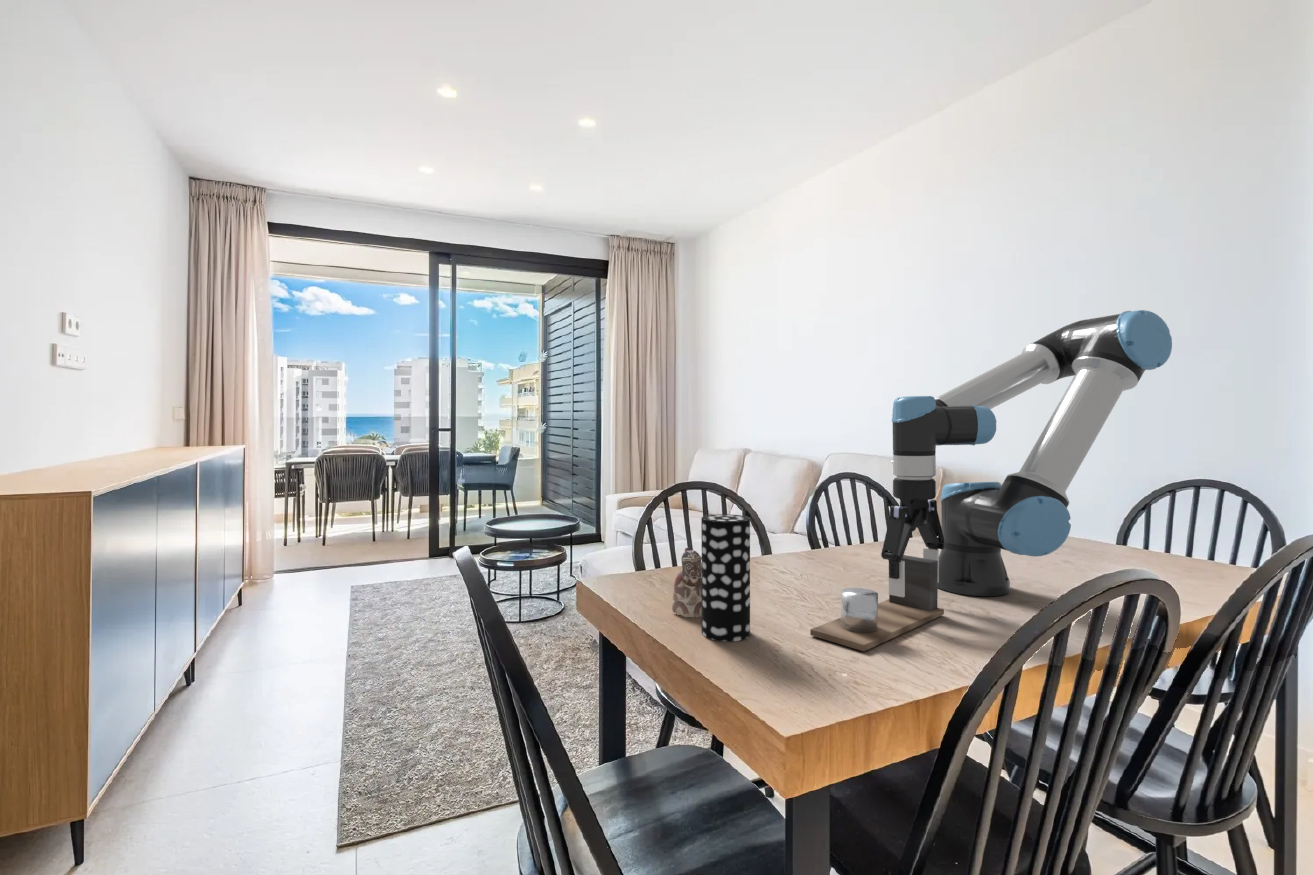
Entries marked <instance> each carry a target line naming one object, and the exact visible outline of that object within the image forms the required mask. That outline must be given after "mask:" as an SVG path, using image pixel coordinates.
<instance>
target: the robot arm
mask: <svg viewBox="0 0 1313 875" xmlns="http://www.w3.org/2000/svg"><path fill="white" fill-rule="evenodd" d="M1172 351H1173V339H1172V336H1171V331H1170V328H1169V326H1168V325H1167V323H1166V321H1165V320H1164V319H1163V318H1162V317H1161V316H1160V315H1159V314H1157V313H1155V312H1153V311H1151V310H1146V309H1145V310H1144V309H1140V310H1132V311H1131V310H1126V311H1123V312H1121V313H1117V314H1112V315H1105V316H1098V317H1094V318H1089V319H1082V320H1077V321H1074V322H1072V323H1070V324H1067V325H1065V326H1062V327H1061V328H1058V329H1057V330H1055V331H1052V332H1050V333H1049V334H1046V335H1045V336H1043V337H1041V338H1040V339H1037V340H1035V341H1034V342H1032V343H1030V344H1028V345H1026V346H1025V347H1024V348H1023V349H1022V352H1021V354H1018V355H1017V356H1015V357H1012V358H1011V359H1009V360H1007V361H1004V362H1003V363H1000V364H998V365H997V366H995V367H993V368H991V369H990V370H987V371H985V372H984V373H982V374H979V375H977V376H976V377H973V378H971V379H970V380H968V381H966V382H964V383H962V384H960V385H958V386H955V387H954V388H952V389H950V390H948V391H947V392H945V393H943V394H940V395H939V396H936V397H934V396H932V395H915V396H914V395H912V396H898V397H896V398H895V399H894V401H893V405H892V415H891V416H892V417H891V423H892V460H891V463H892V475H894V477H895V478H894V479H892V496H893V498H895V499H899V506H898V505H891V506H890V508H889V520H888V524H887V528H886V532H885V536H884V540H883V546H882V549H881V553H880V555H881V558H882V559H883V560H887V561H888V595H889V594H890V595H894V596H899V597H905V561H901V560H902V558H903V555H905V553H906V552H905V551H906V550H907V547H908V544H909V540H910V538H911V536H912V533H913V532H914V531H916V530H917V529H918V532H919V534H920V536H921V538H922V541H923V543H924V545H925V547H924V548H922V550H923V552H922V554H923V557H922V558H925V559H931V560H937V561H938V589H940V590H942V591H945V592H949V593H954V594H959V595H964V596H965V595H966V596H972V597H973V596H974V597H999V596H1004V595H1007V593H1008V594H1009V593H1010V592H1011V581H1010V578H1009V576H1008V572H1007V569H1006V566H1005V563H1004V561H1003V560H1004V559H1003V557H1002V550H1004V551H1008V552H1010V553H1012V554H1015V555H1020V556H1029V557H1034V558H1035V557H1043V556H1046V555H1047V556H1048V555H1051V554H1052V553H1054V552H1055V551H1058V549H1059V548H1061V547H1062V546H1063V544H1064V543H1065V542H1066V540H1067V539H1068V536H1069V535H1070V532H1071V527H1072V525H1071V523H1070V522H1069V521H1070V520H1072V519H1071V518H1072V517H1071V514H1070V511H1069V509H1068V507H1069V505H1070V500H1069V498H1068V496H1067V493H1066V492H1067V490H1068V488H1069V487H1070V484H1071V482H1072V481H1073V479H1074V478H1075V476H1076V474H1077V472H1078V470H1079V469H1080V467H1081V465H1082V464H1083V462H1084V460H1085V458H1086V456H1087V454H1088V453H1089V451H1090V449H1091V448H1092V446H1093V444H1094V443H1095V440H1096V439H1097V437H1098V435H1099V433H1101V430H1102V428H1103V427H1104V425H1105V423H1106V421H1107V419H1108V418H1109V416H1110V414H1111V413H1112V411H1113V409H1114V407H1115V406H1116V404H1117V402H1118V401H1119V398H1120V397H1121V395H1122V394H1123V392H1125V391H1128V390H1131V389H1133V388H1135V387H1137V385H1138V383H1139V382H1140V381H1141V379H1142V377H1143V375H1144V373H1145V371H1151V370H1156V369H1157V368H1160V367H1162V366H1164V364H1166V363H1167V361H1168V360H1169V358H1170V356H1171V354H1172ZM1072 376H1073V378H1072V380H1071V382H1070V384H1069V385H1068V387H1067V388H1066V389H1065V391H1064V394H1063V395H1062V397H1061V399H1060V401H1059V402H1058V404H1057V405H1056V408H1055V409H1054V411H1053V412H1052V414H1051V417H1050V418H1049V419H1048V422H1047V423H1046V424H1045V427H1044V428H1043V430H1042V432H1041V434H1040V435H1039V437H1038V438H1037V440H1036V443H1035V444H1034V445H1033V448H1032V449H1031V451H1030V453H1028V454H1029V455H1028V456H1027V458H1026V459H1025V461H1024V463H1023V465H1022V467H1021V468H1020V470H1019V471H1017V472H1013V473H1010V474H1009V473H1008V474H1007V475H1006V477H1005V479H1004V481H1003V482H1002V483H1001V482H999V481H981V482H980V481H976V482H952V483H950V482H949V483H946V484H945V485H944V486H943V487H942V489H941V490H942V491H941V497H940V504H941V506H940V507H941V508H940V509H941V511H940V512H941V513H940V514H941V518H940V517H939V513H938V512H939V511H938V502H937V499H935V498H936V493H937V491H936V489H937V487H936V486H937V485H936V484H937V483H936V482H937V481H936V480H935V478H934V477H935V476H937V465H936V464H937V463H936V461H937V459H936V458H937V457H936V453H937V452H936V451H937V450H936V448H937V446H973V447H974V446H976V445H985V444H987V443H989V442H991V441H992V439H993V438H994V436H995V435H996V432H997V417H996V415H995V414H994V412H993V410H992V409H994V408H995V407H998V406H1000V405H1002V404H1003V403H1005V402H1007V401H1009V400H1011V399H1014V398H1015V397H1018V396H1019V395H1021V394H1023V393H1025V392H1027V391H1028V390H1031V389H1032V388H1034V387H1036V386H1038V385H1040V384H1042V385H1050V384H1052V383H1054V382H1057V381H1058V380H1060V379H1061V380H1062V379H1064V378H1068V377H1069V378H1070V377H1072ZM940 519H941V520H940ZM939 550H940V552H939Z"/></svg>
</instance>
